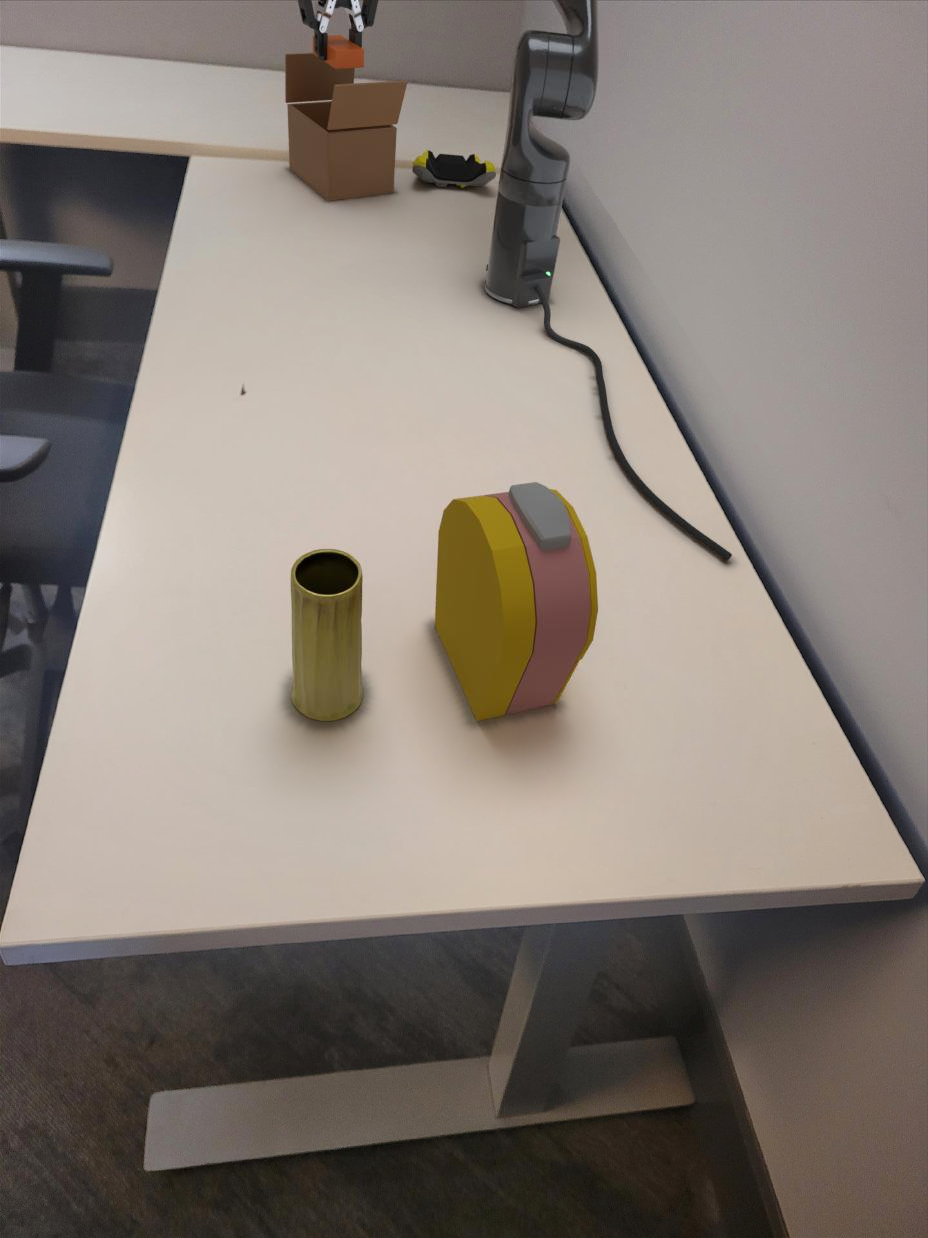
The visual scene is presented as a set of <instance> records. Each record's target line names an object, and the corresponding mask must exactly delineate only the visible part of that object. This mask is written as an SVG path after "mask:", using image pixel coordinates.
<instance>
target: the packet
mask: <svg viewBox="0 0 928 1238" xmlns="http://www.w3.org/2000/svg"><path fill="white" fill-rule="evenodd" d="M314 43H315V42H314V35H312V53H313V54H314V55H315V56H317V57H318V55H317V54H316V53H315V45H314ZM324 62H326V63H328V64H329V65H331V66H332V67H334V68H335V69H345V68H355V69H358V68H359V69H361V68H362V69H363V68H365V67H364V66H365V49H364V48H363V47H362V48H361V47H359V46H358V45H356V44H354V43H353V42H351V41H349V38H346V37H345V36H343V35H341V34H328V45H327V60H325V61H324Z"/></svg>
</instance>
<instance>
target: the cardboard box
mask: <svg viewBox="0 0 928 1238" xmlns="http://www.w3.org/2000/svg"><path fill="white" fill-rule="evenodd" d="M284 59H285V60H284V62H285V64H284V71H285V72H284V73H285V74H284V77H285V78H284V80H285V81H284V82H285V83H284V84H285V86H284V87H285V88H284V89H285V90H284V91H285V94H284V95H285V96H284V99H285V103H286V105H287V134H288V164H289V165H288V166H289V170H290V171H291V172H292V173H293V174H295V175H296V176H297V177H298V178H300V179H301V180H302V181H303V182H304V183H305V184H306V185H308V186H309V187H310V188H311V189H313V190H314V191H315V192H316V193H317V194H318V195H320V196H321V197H322V198H324V199H325V200H326V201H327V202H333V201H339V200H340V201H341V200H347V199H355V198H362V197H363V198H365V197H373V196H378V195H379V196H380V195H387V194H394V193H395V191H394V189H395V173H396V172H395V171H396V153H397V134H398V133H397V131H398V130H397V129H398V128H397V127H396V126H395V125H382V126H370V127H357V128H345V129H333V130H328V129H327V127H328V121H329V115H330V109H331V103H332V97H333V91H334V85H336V84H354V83H355V69H356V68H345V69H335V68H334V67H332V66H331V65H329V64H328V63H326V62H324V61H322V60H321V59H319V58H318V57H317V56H315V55H314V54H313V52H297V53H296V52H295V53H285V54H284Z"/></svg>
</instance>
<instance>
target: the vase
mask: <svg viewBox="0 0 928 1238" xmlns="http://www.w3.org/2000/svg"><path fill="white" fill-rule="evenodd" d="M290 569H291V570H290V603H291V661H292V672H293V673H292V674H293V680H292V682H291V683H292V684H291V690H290V698H291V701H292V703H293V705H294V707H295V708H296V709H297V711H299V712H300V713H301V714H302V715H304V716H305V717H307V718H310V719H313V720H316V721H321V722H333V721H338V720H342V719H344V718H346V717H348V716H350V715H351V714H352V713H354V712H356V710H357V709H359V707H360V706H361V703H362V701H363V698H364V692H365V691H364V689H365V687H364V684H363V677H362V675H363V674H362V673H363V671H362V659H363V637H362V636H363V630H362V629H363V628H362V627H363V626H362V625H363V624H362V616H363V578H364V577H363V570H362V566H361V564H360V562H359V561H358V560H357V559H356V558H355V557H354V556H353V555H352V554H350V553H348V552H346V551H344V550H340V549H336V548H319V549H314V550H310V551H309V552H306V553H304V554H302V555H301V556H299V557H298V558H297V559H296V560H295V562H294V563H293V564H292V567H291V568H290Z"/></svg>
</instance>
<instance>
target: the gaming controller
mask: <svg viewBox="0 0 928 1238" xmlns="http://www.w3.org/2000/svg"><path fill="white" fill-rule="evenodd" d="M411 172H412V173H413V174H414V175H415V176H416V177H417V178H418V179H419V180H421V181H423V182H425V183H433V185H434V186H435V187H439V188H446V187H447V186H448V185H450V184H451V185H456V186H458V187H459V186H460V188H465V187H468V186H471V187H472V186H473V187H480V186H485V185H487V184H488V183H489V182H492V181H493V180H495V178H496V177H497V170H496V167H495V164H494V163H493V162H492V161H489V160H485V161H483V162H481V159H480V157H479V156H478V155H476V154H475V153H471V154H470V155H468V157H467V159H466V158H465V157H464V155H461V154H450V153H449V154H447V153H439V154H437V156H436V157H435V155H434V152H433V151H431V150H429V149H427V150H425V151H424V152H423V153H422V155H417V156H416V158H415V159H414V161H413V162H412V169H411Z"/></svg>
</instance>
